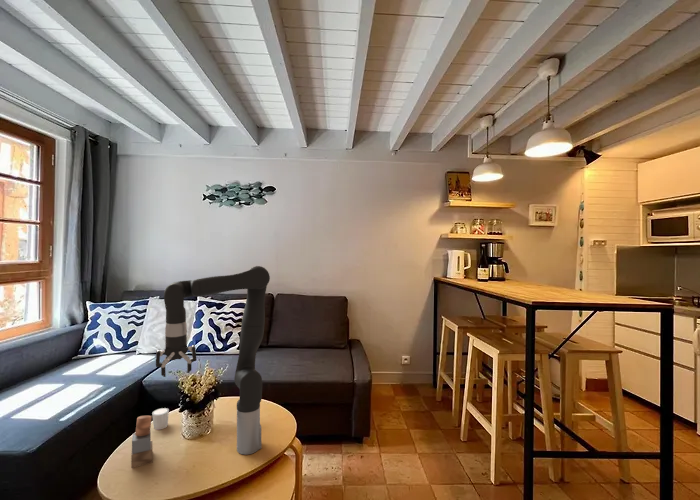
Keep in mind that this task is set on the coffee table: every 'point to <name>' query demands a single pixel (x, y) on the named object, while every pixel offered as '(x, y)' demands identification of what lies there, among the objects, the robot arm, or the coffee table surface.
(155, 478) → the coffee table surface
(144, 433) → the brown rounded knob
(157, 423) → the white cylinder
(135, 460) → the tower base
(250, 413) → the robot arm
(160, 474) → the coffee table surface
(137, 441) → the tower top
